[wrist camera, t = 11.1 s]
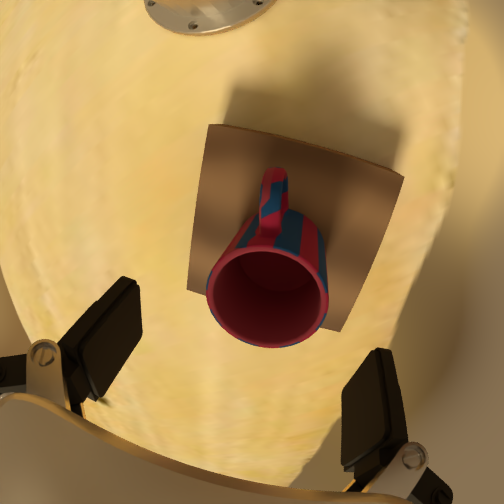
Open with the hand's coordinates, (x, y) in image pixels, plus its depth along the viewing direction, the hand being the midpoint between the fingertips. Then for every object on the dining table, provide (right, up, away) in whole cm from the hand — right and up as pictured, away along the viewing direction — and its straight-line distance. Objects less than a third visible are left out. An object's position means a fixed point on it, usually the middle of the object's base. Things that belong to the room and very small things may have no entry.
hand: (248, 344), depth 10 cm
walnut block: (+3, +6, +14) cm, 15 cm away
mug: (+2, +5, +10) cm, 12 cm away
